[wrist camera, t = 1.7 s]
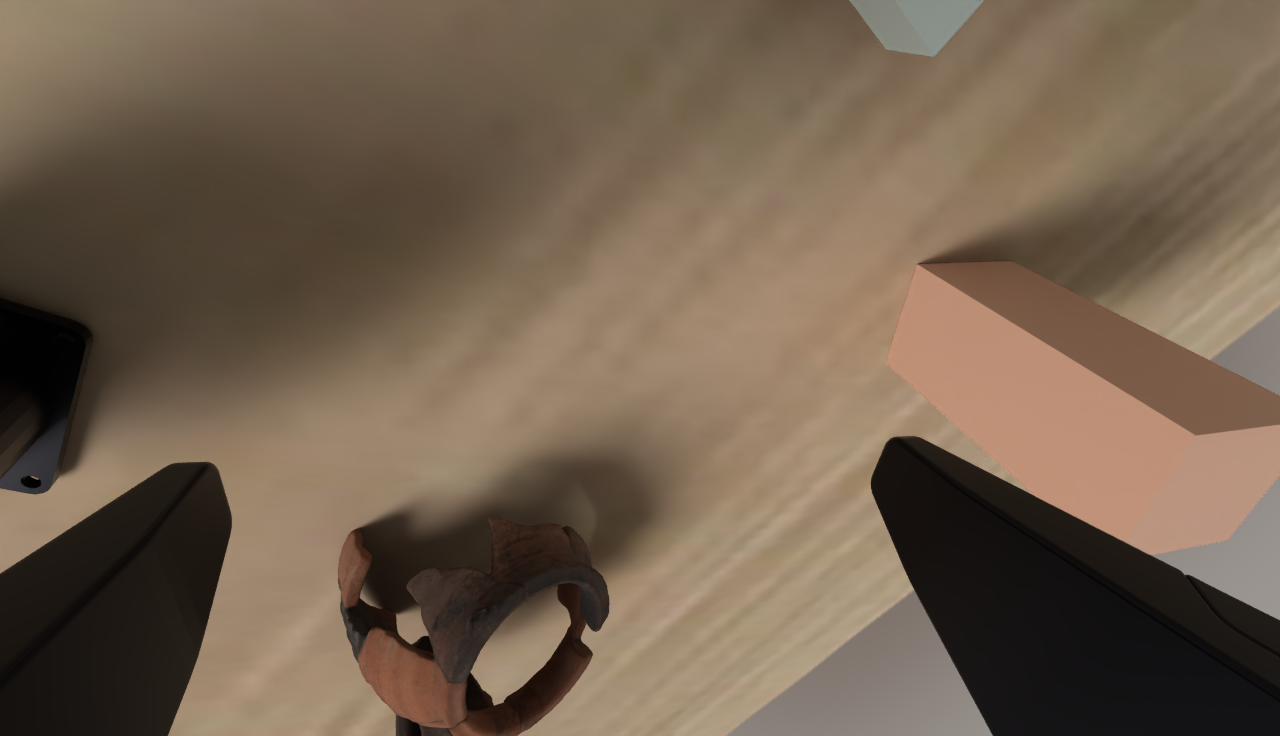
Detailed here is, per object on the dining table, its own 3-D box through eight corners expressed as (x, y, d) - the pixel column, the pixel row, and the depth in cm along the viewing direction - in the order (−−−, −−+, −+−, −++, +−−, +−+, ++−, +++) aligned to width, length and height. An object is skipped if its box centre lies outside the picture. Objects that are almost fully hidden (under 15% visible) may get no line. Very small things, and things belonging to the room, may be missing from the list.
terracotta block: (885, 362, 26) (1109, 562, 17) (917, 264, 24) (1195, 435, 15) (972, 355, 27) (1227, 540, 18) (1011, 260, 25) (1325, 418, 16)
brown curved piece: (332, 462, 23) (440, 584, 17) (535, 441, 30) (656, 524, 24) (292, 726, 25) (376, 902, 20) (487, 650, 32) (587, 766, 27)
